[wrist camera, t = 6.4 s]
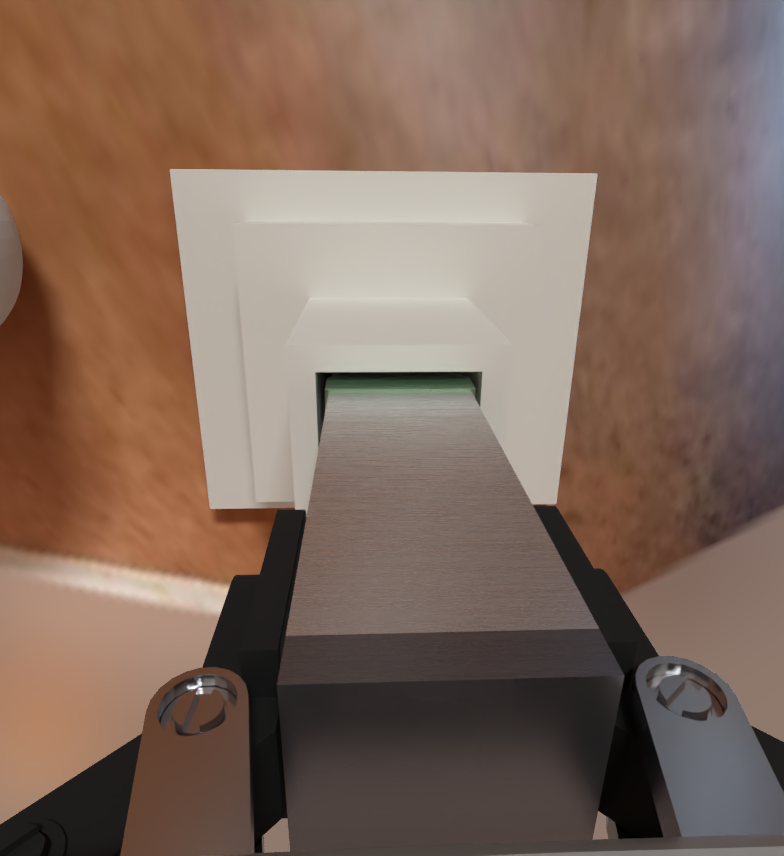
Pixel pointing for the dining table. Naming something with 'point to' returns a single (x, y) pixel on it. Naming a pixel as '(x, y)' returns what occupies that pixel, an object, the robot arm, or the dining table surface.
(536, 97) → the dining table surface
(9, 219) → the teacup
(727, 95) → the dining table surface
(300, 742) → the post
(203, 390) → the stand
